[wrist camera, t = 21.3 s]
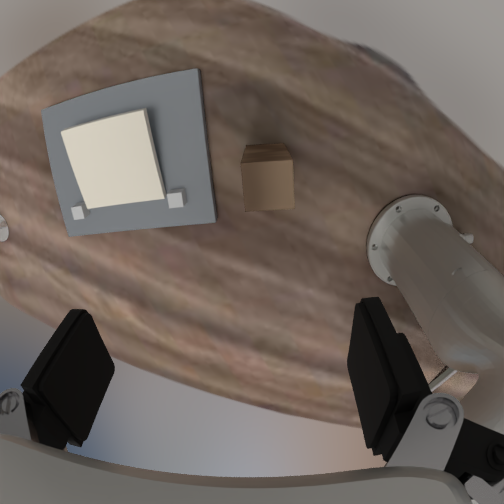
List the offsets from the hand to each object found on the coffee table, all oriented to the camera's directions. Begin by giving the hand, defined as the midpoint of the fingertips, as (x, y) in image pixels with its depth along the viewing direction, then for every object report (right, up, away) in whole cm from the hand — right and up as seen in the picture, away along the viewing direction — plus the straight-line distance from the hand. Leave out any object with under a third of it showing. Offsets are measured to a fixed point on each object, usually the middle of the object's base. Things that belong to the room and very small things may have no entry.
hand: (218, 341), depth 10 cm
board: (-14, +14, +23) cm, 30 cm away
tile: (-14, +12, +20) cm, 27 cm away
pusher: (+3, +13, +23) cm, 26 cm away
